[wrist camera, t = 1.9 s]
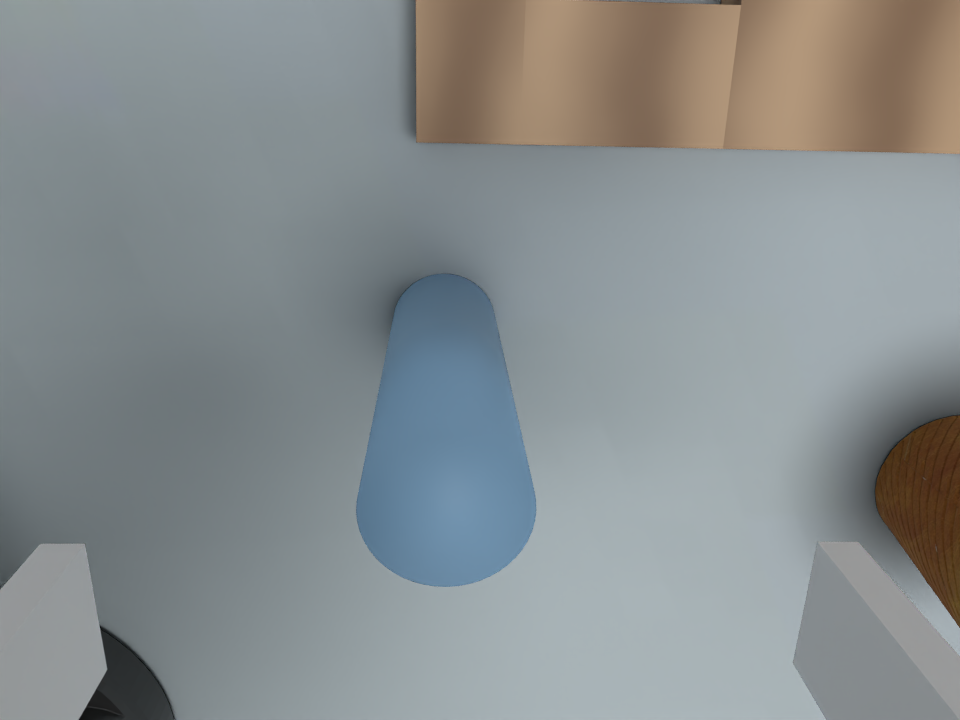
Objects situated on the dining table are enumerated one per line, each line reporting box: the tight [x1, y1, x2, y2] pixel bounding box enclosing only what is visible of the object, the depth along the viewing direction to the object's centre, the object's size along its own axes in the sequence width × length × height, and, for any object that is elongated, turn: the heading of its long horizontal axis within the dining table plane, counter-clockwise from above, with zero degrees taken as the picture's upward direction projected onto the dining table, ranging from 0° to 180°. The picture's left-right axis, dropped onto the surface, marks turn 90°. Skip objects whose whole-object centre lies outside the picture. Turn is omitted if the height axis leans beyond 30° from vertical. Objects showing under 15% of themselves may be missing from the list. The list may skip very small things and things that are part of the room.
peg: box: [356, 274, 536, 587], centre depth 24 cm, size 4×4×14 cm
